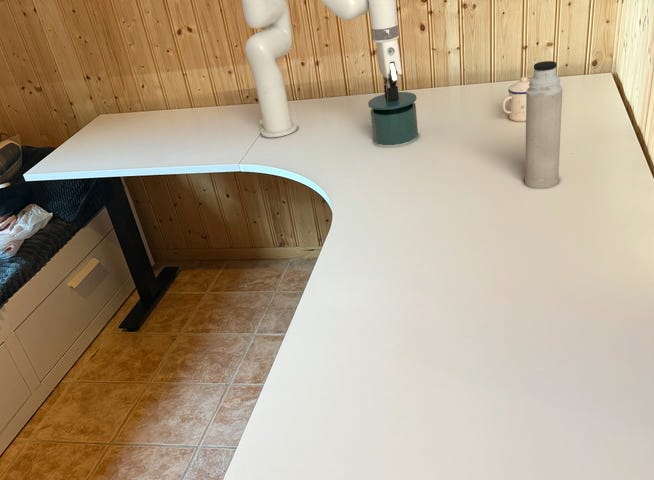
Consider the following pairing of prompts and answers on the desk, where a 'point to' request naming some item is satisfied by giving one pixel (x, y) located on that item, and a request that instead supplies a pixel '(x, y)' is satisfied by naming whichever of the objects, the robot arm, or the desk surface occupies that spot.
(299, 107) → the desk surface
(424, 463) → the desk surface
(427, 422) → the desk surface
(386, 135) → the tin
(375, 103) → the lid
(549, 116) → the thermos bottle
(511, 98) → the teacup with lid
